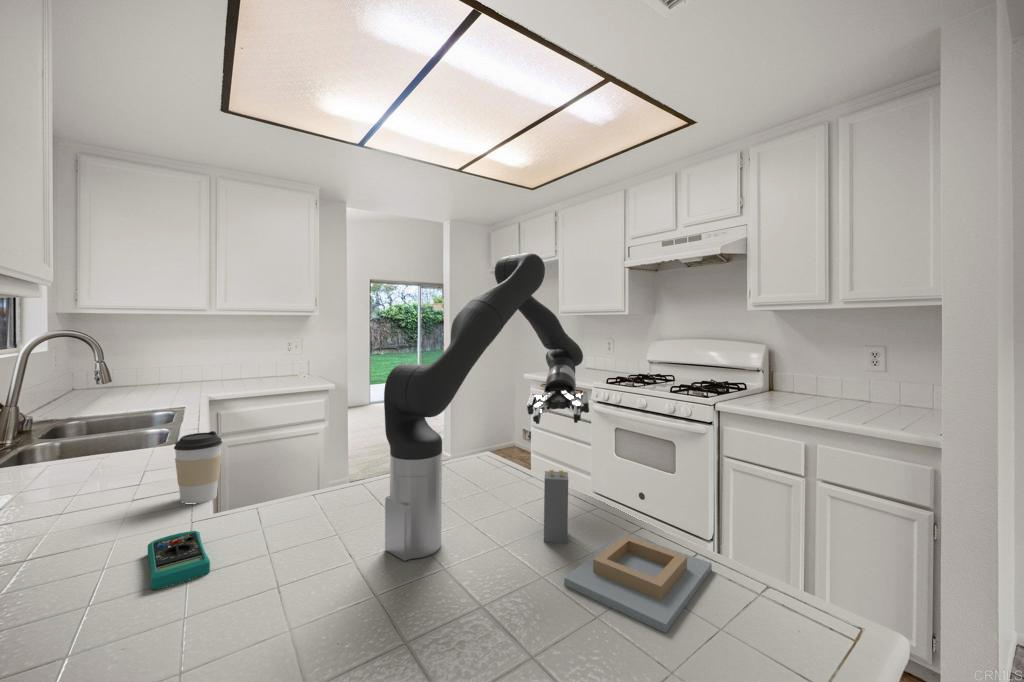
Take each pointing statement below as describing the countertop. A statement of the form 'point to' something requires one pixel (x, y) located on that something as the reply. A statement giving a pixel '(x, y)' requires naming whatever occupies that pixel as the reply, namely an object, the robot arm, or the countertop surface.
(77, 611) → the countertop surface
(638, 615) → the holder
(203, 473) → the coffee cup
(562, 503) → the connector
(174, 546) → the digital multimeter
